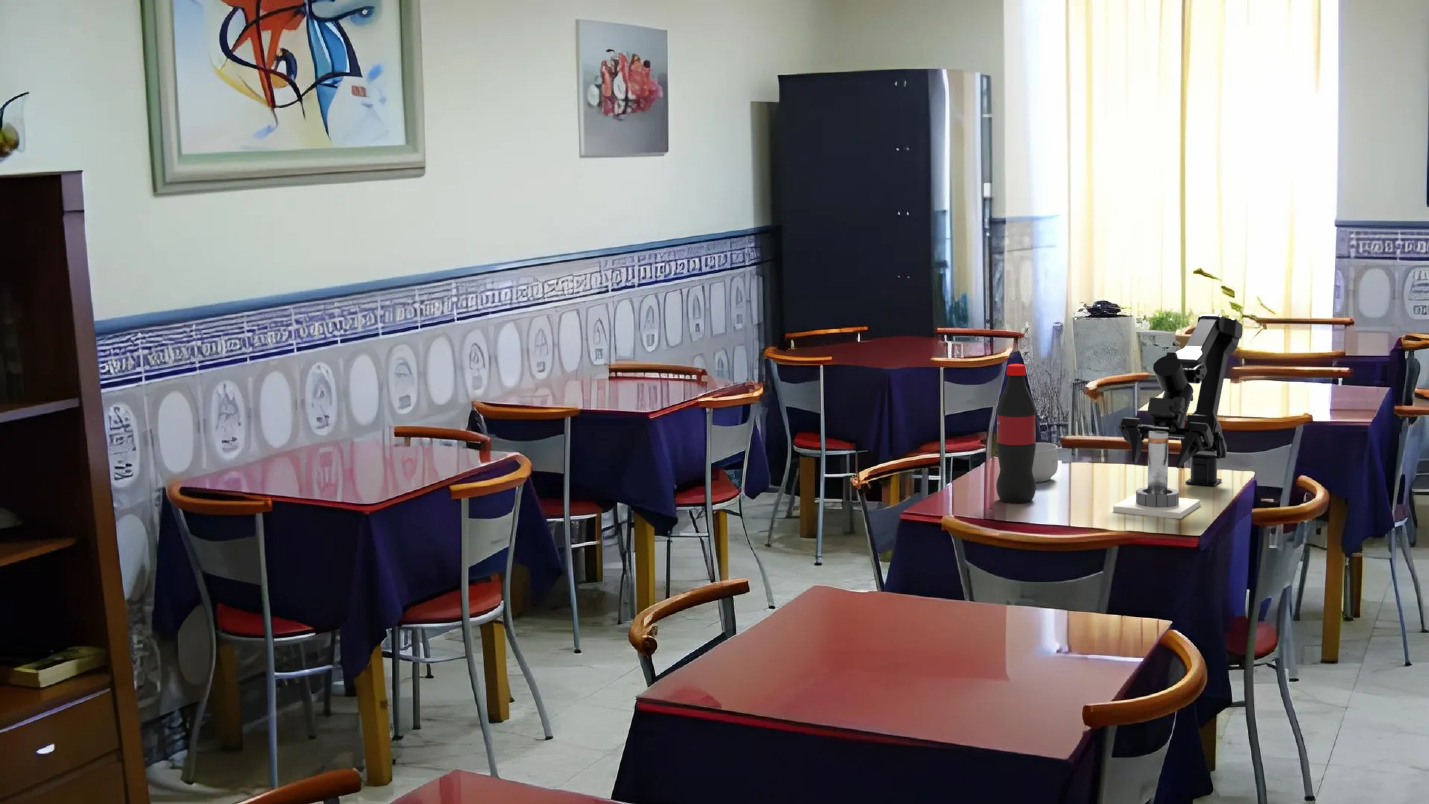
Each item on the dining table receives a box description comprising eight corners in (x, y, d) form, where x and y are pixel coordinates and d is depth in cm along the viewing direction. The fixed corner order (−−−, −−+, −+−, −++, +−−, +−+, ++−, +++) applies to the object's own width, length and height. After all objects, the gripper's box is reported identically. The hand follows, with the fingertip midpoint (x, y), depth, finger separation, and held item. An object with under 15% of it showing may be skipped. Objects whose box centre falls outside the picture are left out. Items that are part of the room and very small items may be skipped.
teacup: (1062, 484, 333) (1062, 449, 332) (1014, 485, 333) (1014, 450, 332) (1049, 472, 347) (1049, 439, 346) (1004, 473, 347) (1004, 440, 346)
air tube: (1145, 500, 308) (1146, 430, 306) (1165, 500, 307) (1166, 430, 305) (1148, 504, 304) (1149, 433, 302) (1169, 504, 303) (1170, 433, 301)
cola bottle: (1033, 496, 321) (1033, 361, 316) (1038, 504, 313) (1038, 366, 308) (994, 496, 322) (994, 362, 317) (998, 505, 313) (998, 367, 309)
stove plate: (1135, 498, 315) (1135, 482, 315) (1200, 505, 307) (1200, 488, 307) (1113, 511, 304) (1113, 494, 303) (1180, 518, 296) (1180, 501, 296)
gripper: (1122, 379, 310) (1102, 438, 303) (1210, 384, 299) (1191, 446, 292) (1135, 411, 318) (1115, 469, 311) (1221, 417, 307) (1203, 477, 300)
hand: (1155, 465), depth 303 cm, fingers open, 9 cm apart
